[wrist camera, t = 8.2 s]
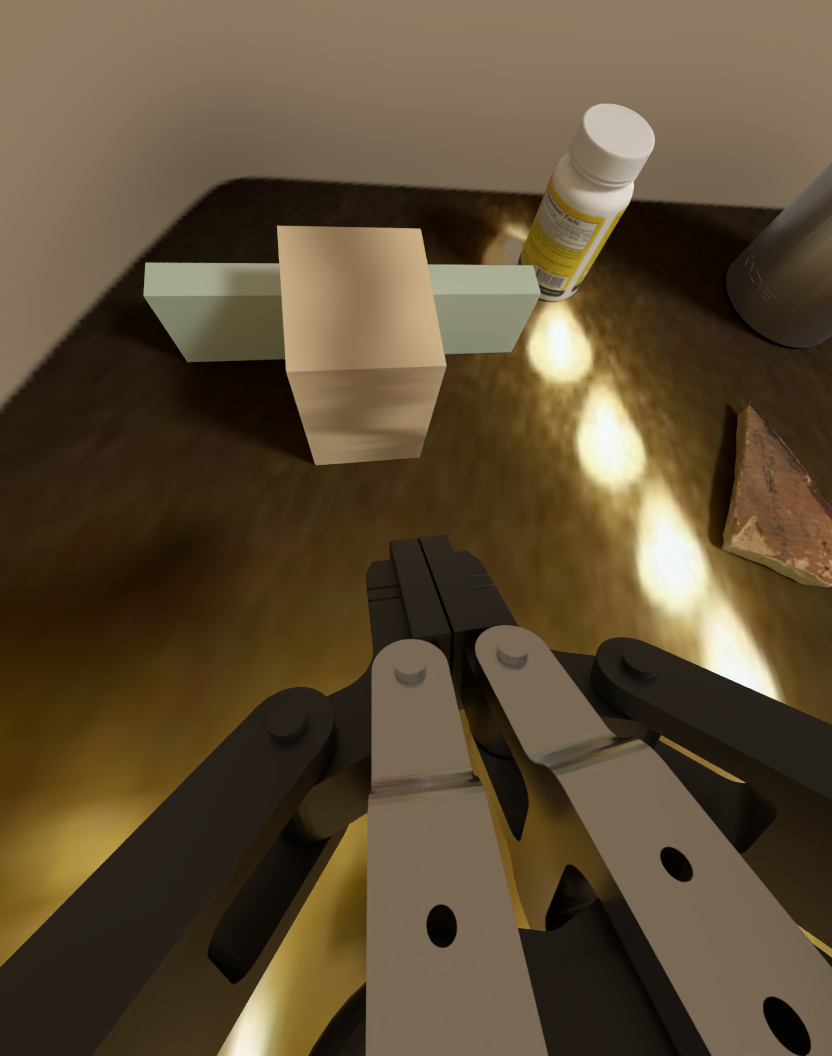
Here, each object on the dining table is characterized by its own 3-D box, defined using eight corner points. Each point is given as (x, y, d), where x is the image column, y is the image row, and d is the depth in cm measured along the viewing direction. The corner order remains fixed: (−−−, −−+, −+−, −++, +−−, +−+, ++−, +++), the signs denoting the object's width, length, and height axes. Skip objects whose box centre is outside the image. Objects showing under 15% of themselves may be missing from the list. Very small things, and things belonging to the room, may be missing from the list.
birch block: (404, 357, 24) (420, 228, 16) (419, 457, 22) (446, 365, 15) (307, 360, 23) (277, 226, 15) (315, 465, 21) (286, 371, 14)
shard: (731, 411, 27) (756, 396, 25) (828, 455, 27) (860, 443, 25) (707, 548, 24) (734, 542, 22) (818, 597, 24) (854, 594, 22)
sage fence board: (505, 327, 26) (533, 265, 21) (511, 352, 25) (541, 293, 21) (187, 333, 22) (145, 262, 18) (187, 362, 22) (143, 296, 18)
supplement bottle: (559, 247, 28) (636, 94, 20) (588, 296, 27) (680, 156, 19) (503, 258, 27) (560, 101, 19) (531, 309, 26) (603, 167, 18)
